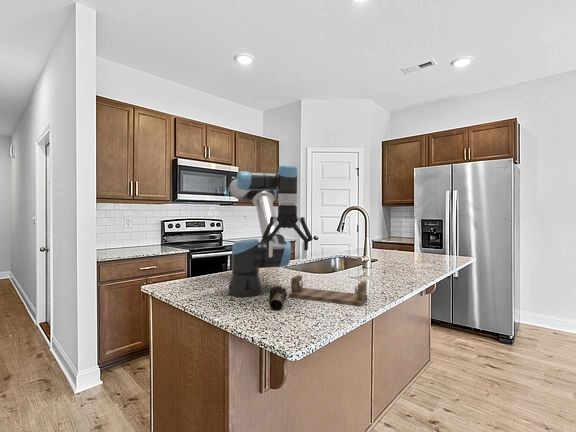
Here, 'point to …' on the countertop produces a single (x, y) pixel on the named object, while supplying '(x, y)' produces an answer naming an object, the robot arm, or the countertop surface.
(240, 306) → the countertop surface
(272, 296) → the lumpy brown club
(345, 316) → the countertop surface
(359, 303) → the shaft stand
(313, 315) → the countertop surface
